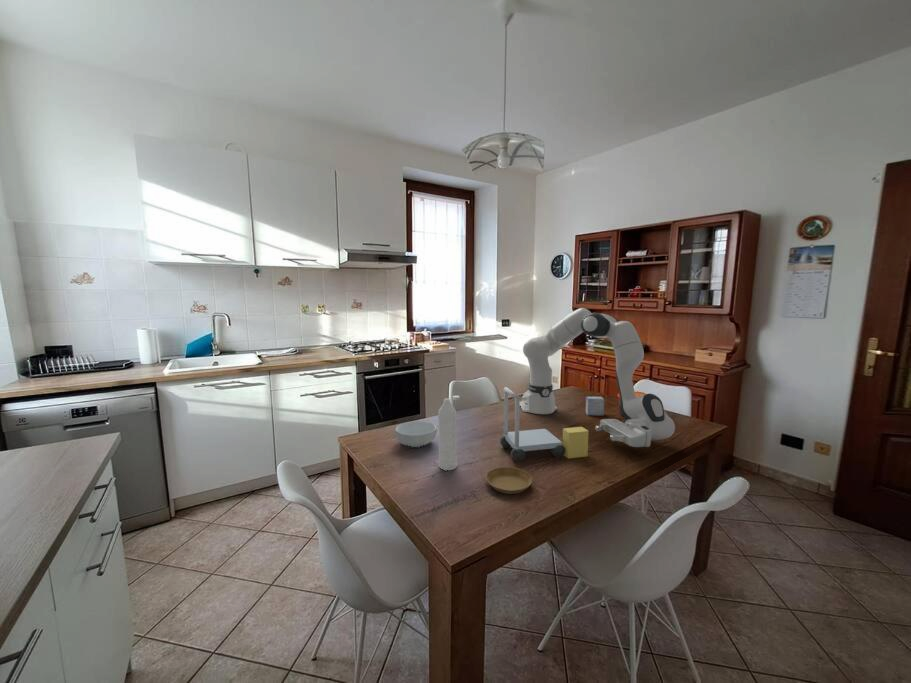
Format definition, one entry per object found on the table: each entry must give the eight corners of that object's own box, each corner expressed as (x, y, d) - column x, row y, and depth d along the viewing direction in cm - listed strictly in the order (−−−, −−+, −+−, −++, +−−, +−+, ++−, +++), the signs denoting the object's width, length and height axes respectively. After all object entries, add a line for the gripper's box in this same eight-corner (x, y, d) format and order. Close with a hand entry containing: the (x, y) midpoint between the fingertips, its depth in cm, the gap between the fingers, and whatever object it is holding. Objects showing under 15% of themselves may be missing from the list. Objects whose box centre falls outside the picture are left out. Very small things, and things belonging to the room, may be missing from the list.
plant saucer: (508, 469, 127) (508, 462, 127) (541, 487, 116) (541, 479, 115) (476, 483, 118) (476, 475, 118) (508, 503, 107) (508, 495, 106)
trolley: (499, 447, 145) (500, 387, 142) (548, 442, 150) (549, 383, 146) (512, 462, 132) (513, 396, 129) (565, 457, 136) (567, 393, 133)
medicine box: (601, 413, 185) (601, 396, 184) (603, 415, 181) (604, 399, 180) (585, 412, 186) (585, 396, 185) (587, 415, 182) (588, 398, 181)
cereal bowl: (445, 443, 150) (444, 426, 149) (414, 456, 138) (414, 438, 137) (418, 432, 161) (417, 417, 160) (387, 444, 149) (387, 427, 148)
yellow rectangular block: (562, 453, 139) (563, 428, 138) (581, 451, 141) (582, 426, 140) (568, 458, 135) (569, 432, 134) (587, 456, 137) (588, 431, 135)
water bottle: (447, 472, 125) (446, 402, 122) (435, 466, 130) (434, 398, 126) (465, 464, 131) (464, 397, 127) (453, 458, 136) (452, 394, 132)
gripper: (618, 414, 152) (588, 416, 149) (654, 432, 132) (620, 435, 129) (617, 428, 153) (588, 431, 150) (653, 448, 133) (619, 452, 130)
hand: (603, 433), depth 140 cm, fingers open, 8 cm apart
